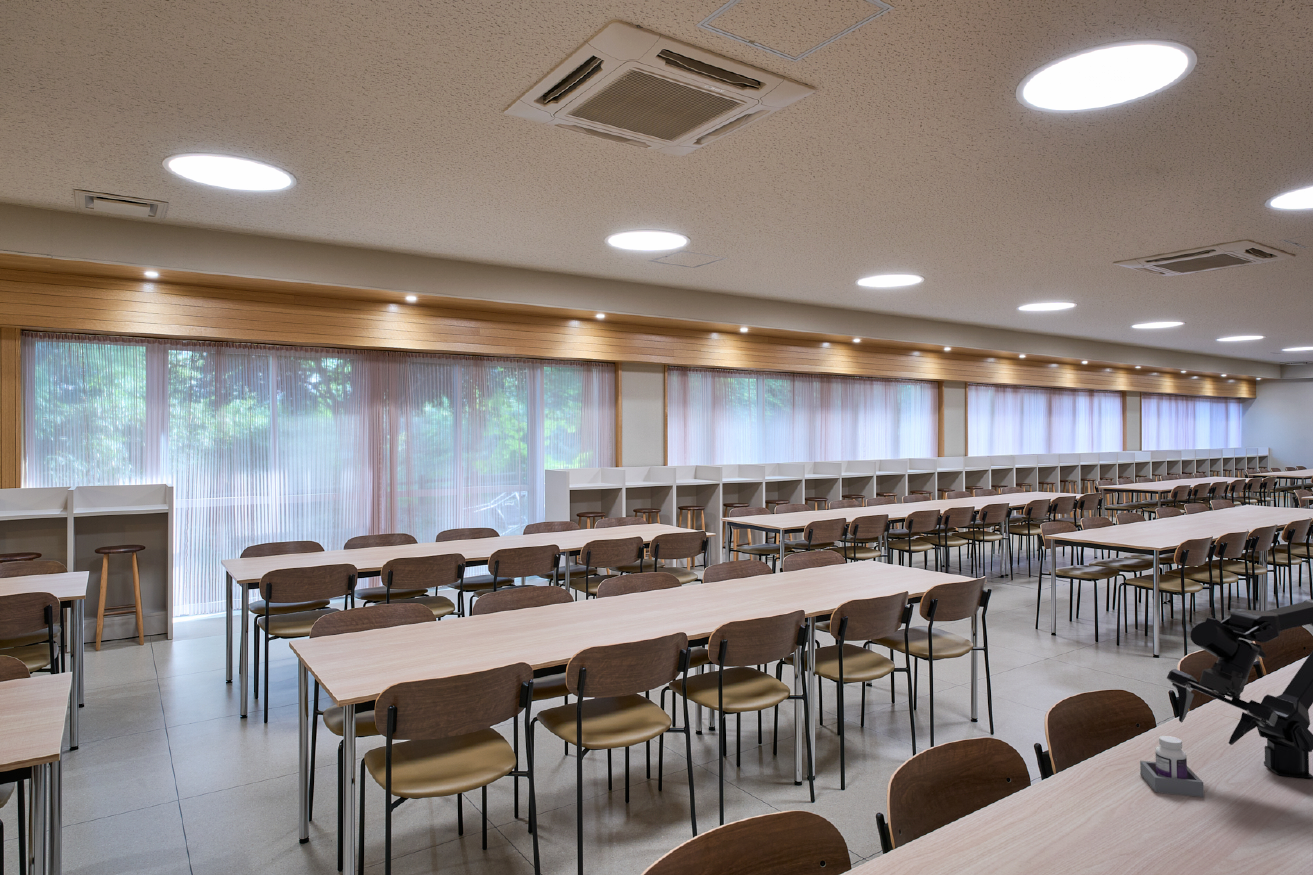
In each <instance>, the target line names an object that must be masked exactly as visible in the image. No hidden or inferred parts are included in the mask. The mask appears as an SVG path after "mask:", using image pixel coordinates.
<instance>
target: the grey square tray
mask: <svg viewBox="0 0 1313 875" xmlns="http://www.w3.org/2000/svg"><path fill="white" fill-rule="evenodd" d="M1139 763H1140V765H1139V766H1140V771H1139V772H1140V776H1141V775H1142V776H1141V777H1142V778H1143V777H1144V778H1143V779H1144V781H1147V782H1146V783H1147V784H1148V785H1149V786H1150V788H1151V789H1152V790H1153V792H1154V793H1158V792H1159V793H1160V794H1169V795H1170V794H1171V795H1178V796H1189V797H1199V798H1205V796H1204V795H1205V794H1204V793H1205V792H1204V791H1205V790H1204V781H1203V780H1202V779H1201V778H1200V777H1199V776H1198V775H1197V774H1196V773H1195V772H1194V771H1192V769H1191V768H1189V766H1188V765H1187V779H1180V778H1170V777H1160V776H1157V775H1156V761H1150V760H1149V761H1148V760H1140V761H1139Z"/></svg>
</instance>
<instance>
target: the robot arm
mask: <svg viewBox="0 0 1313 875" xmlns="http://www.w3.org/2000/svg"><path fill="white" fill-rule="evenodd" d="M1307 625H1310V626H1311V627H1313V599H1312V598H1311V599H1306V600H1304V601H1303V602H1298V603H1297V602H1296V603H1295V604H1294V603H1293V604H1291V605H1290V604H1289V605H1286V606H1281V607H1276V608H1273V609H1268V610H1254V609H1241V610H1240V609H1237V610H1234V611H1232V612H1231V613H1230V615H1229V616H1228V617H1225V618H1223V620H1221V621H1220V620H1219V619H1216V618H1212V617H1209V616H1208V617H1206V618H1205V621H1202V622H1200V623H1198V624H1196V625H1195V626H1194V627H1192V629H1191V631H1190V641H1191V642H1192V643H1193V644H1194V645H1196V646H1197V647H1198V648H1201V649H1203V650H1204V651H1206V652H1207V653H1209V654H1211V655H1213V656H1214V657H1215V658H1218V659H1217V661H1215V662H1214V664H1213V665H1212V667H1210V668H1205V669H1202V672H1201V675H1200V679H1199V681H1198V680H1197V679H1196V678H1195V677H1194V676H1192V675H1191V674H1189V673H1186V672H1183V671H1181V670H1179V669H1177V668H1173V669H1171V670H1170V671H1169V672H1168V675H1167V676H1166V679H1167V680H1168V681H1169V682H1170V683H1172V684H1171V685H1172V687H1173V688H1175V690H1177V693H1178V705H1179V706H1178V721H1179V722H1180V723H1183V722H1184V720H1185V719H1186V717H1187V714H1188V712H1189V709H1190V706H1191V704H1192V701H1193V699H1194V696H1195V694H1194V693H1192V691H1197V692H1200V693H1201V694H1204V695H1206V696H1209V697H1212V698H1214V699H1217V700H1218V701H1221V702H1224V703H1226V704H1229V705H1230V706H1233V707H1236V708H1238V709H1240V710H1243V711H1242V712H1241V717H1240V720H1239V722H1238V723H1237V725H1236V727H1235V729H1234V730H1233V732H1232V734H1231V736H1230V737H1229V741H1228V744H1229V745H1230V746H1232V745H1234V744H1235V743H1237V742H1238V741H1239V740H1240V739H1241V738H1242V737H1243V736H1245V735H1246V734H1247V733H1249V732H1251V731H1252V730H1254V729H1257V732H1258V734H1259V736H1260V737H1261V738H1265V739H1266V743H1267V744H1266V745H1265V746H1264V761H1263V765H1265V767H1267V768H1269V769H1270V771H1272V772H1274V773H1275V774H1276V775H1277V776H1281V777H1293V778H1301V779H1303V778H1304V779H1313V774H1312V773H1310V758H1309V756H1310V754H1309V753H1312V752H1313V733H1312V732H1311V731H1310V730H1309V727H1310V726H1311V720H1310V713H1309V709H1310V708H1311V707H1312V705H1313V650H1312V651H1311V652H1310V653H1309V655H1308V657H1307V658H1306V659H1305V661H1304V662H1303V663H1302V665H1301V666H1300V668H1299V669H1298V671H1297V672H1296V674H1295V675H1294V676H1293V678H1292V679H1291V680H1290V682H1289V683H1288V685H1287V686H1286V688H1285V689H1284V690H1283V692H1282V693H1281V694H1279V695H1278V696H1274V695H1270V694H1266V695H1265V696H1263V698H1262V700H1261V702H1258V701H1255V700H1253V699H1250V701H1249V702H1247V701H1245V700H1242V699H1241V694H1242V693H1243V692H1244V688H1245V686H1246V684H1247V683H1248V681H1249V675H1250V672H1251V670H1252V668H1253V665H1254V663H1255V661H1256V659H1257V657H1259V658H1261V659H1265V658H1266V657H1267V656H1266V653H1265V651H1264V649H1263V648H1262V645H1261V644H1258V643H1268V642H1270V641H1272V640H1275V639H1277V638H1279V637H1280V635H1281V632H1283V631H1287V630H1290V629H1295V628H1299V627H1303V626H1307ZM1249 641H1251V642H1249ZM1255 642H1258V643H1255ZM1229 698H1230V699H1229ZM1244 711H1245V712H1244Z"/></svg>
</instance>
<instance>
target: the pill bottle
mask: <svg viewBox="0 0 1313 875" xmlns="http://www.w3.org/2000/svg"><path fill="white" fill-rule="evenodd" d="M1158 738H1159V740H1158V741H1159V742H1158V744H1159V746H1157V747H1156V748H1155V762H1156V775H1157V776H1160V777H1170V778H1180V779H1187V766H1188V764H1187V763H1188V761H1187V760H1188V759H1187V753H1186V752H1185V751H1184V750H1183V740H1182V739H1180V738H1178V737H1175V736H1170V735H1160V736H1159V737H1158Z"/></svg>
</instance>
